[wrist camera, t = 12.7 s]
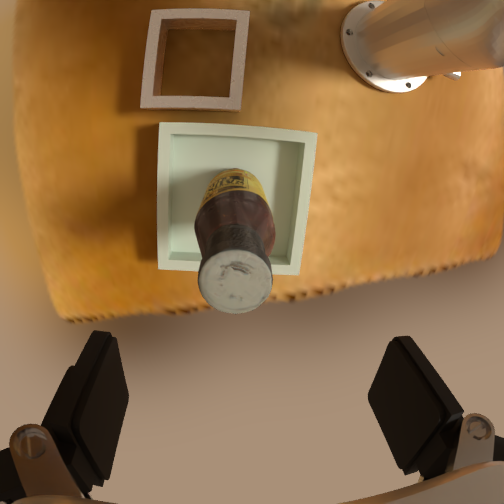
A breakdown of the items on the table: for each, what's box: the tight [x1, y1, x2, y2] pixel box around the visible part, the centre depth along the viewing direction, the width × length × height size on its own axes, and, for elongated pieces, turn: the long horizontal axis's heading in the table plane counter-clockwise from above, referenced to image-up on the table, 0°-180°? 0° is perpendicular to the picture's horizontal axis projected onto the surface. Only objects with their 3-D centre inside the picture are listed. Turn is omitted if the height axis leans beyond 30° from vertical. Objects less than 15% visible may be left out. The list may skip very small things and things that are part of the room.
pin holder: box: [140, 8, 250, 112], centre depth 28 cm, size 10×11×4 cm
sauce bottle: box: [194, 168, 276, 314], centre depth 26 cm, size 6×6×20 cm
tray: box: [157, 122, 317, 275], centre depth 34 cm, size 16×16×4 cm
